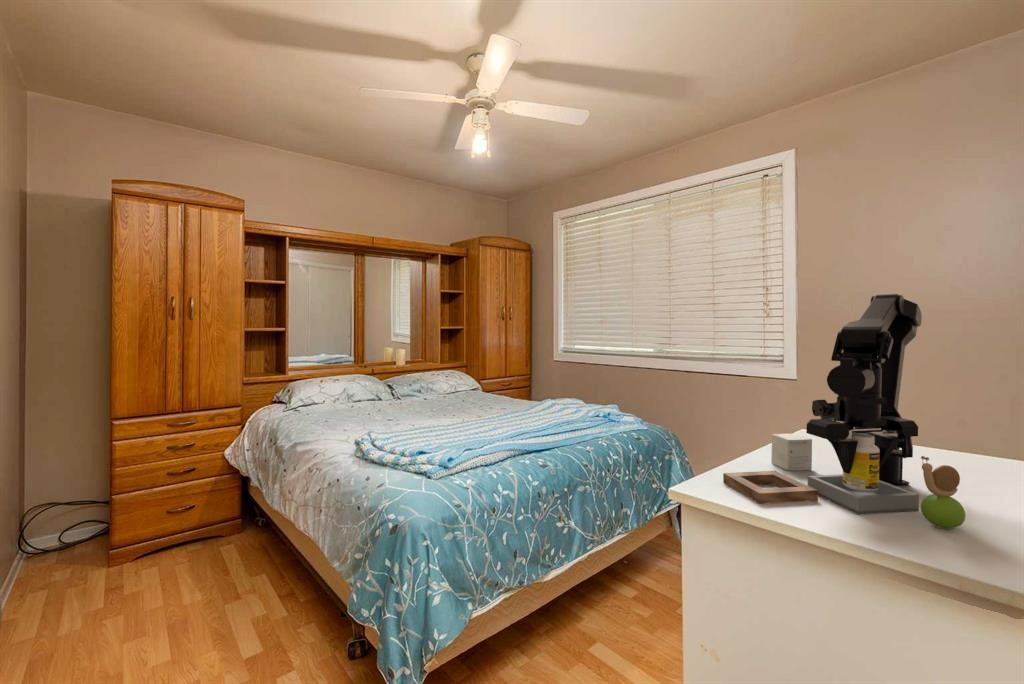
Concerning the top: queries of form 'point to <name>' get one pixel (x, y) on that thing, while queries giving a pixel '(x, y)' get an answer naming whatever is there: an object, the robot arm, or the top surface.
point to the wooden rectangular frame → (786, 492)
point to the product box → (791, 451)
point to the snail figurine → (942, 496)
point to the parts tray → (864, 496)
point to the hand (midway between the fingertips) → (860, 472)
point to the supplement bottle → (864, 465)
